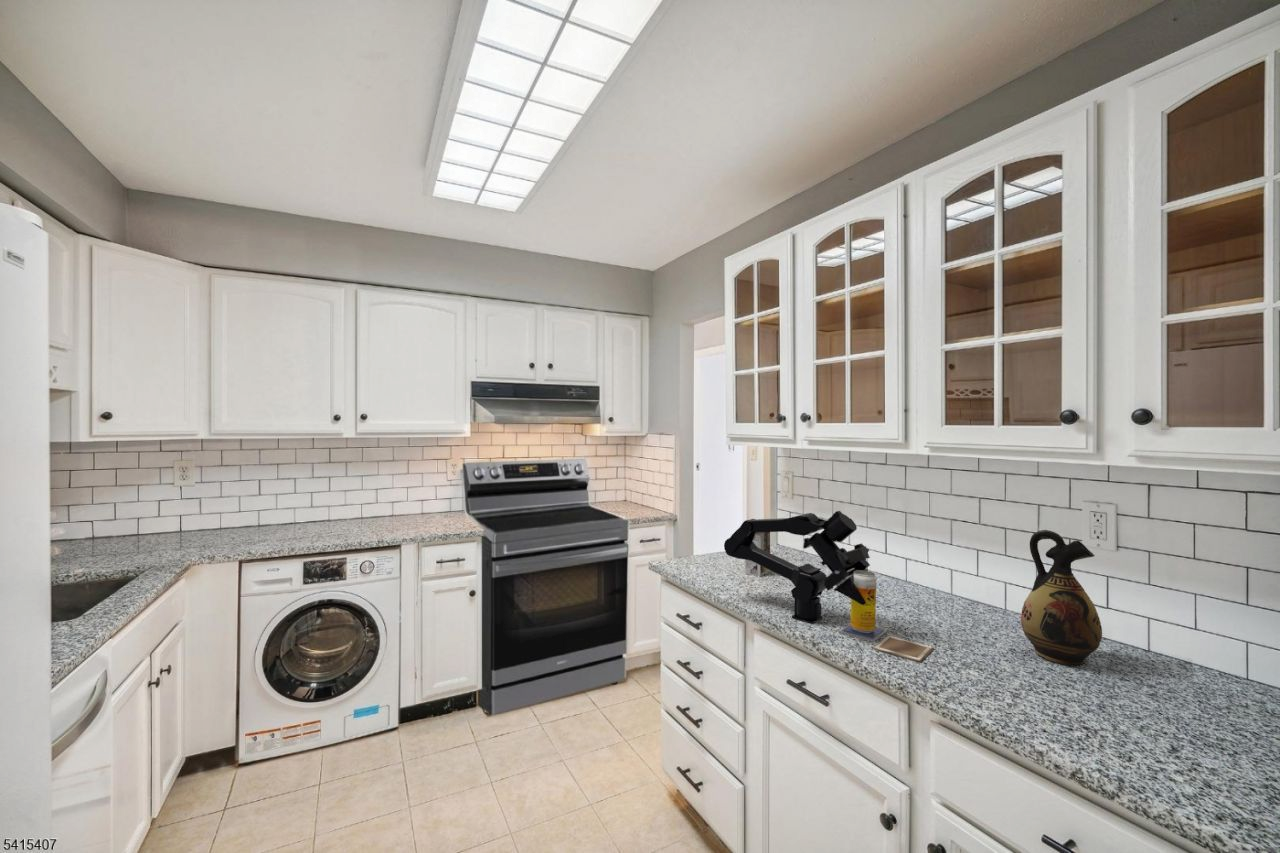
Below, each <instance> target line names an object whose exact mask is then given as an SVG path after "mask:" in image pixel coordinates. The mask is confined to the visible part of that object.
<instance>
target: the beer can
mask: <svg viewBox="0 0 1280 853" xmlns="http://www.w3.org/2000/svg"><path fill="white" fill-rule="evenodd" d="M853 575H854V584H855V586H856V588H857V589H858V591H859V592H860V594H861V595H862V597H863V598H864V600H865V602H866V603H865V604H864V605H862V604H860V603H858V602H856V601H855V600H853V599H851V598H850V625H851V626H852V628H853V629H854V630H856V631H858V632H863V633H870V632H873V630H874V629H875V627H876V610H877V609H876V606H877V577H876V574H875V572H872V571H869V570H868V571H863V570H856V571H854V572H853V574H852V576H853Z"/></svg>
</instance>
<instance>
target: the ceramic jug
mask: <svg viewBox="0 0 1280 853" xmlns="http://www.w3.org/2000/svg"><path fill="white" fill-rule="evenodd" d="M1042 540H1051V541H1053V542H1054V543H1055V544H1056V545H1054V546H1052V547H1050V548H1049V549H1048V550H1047V551H1046V552H1045V556H1046V558H1048V559H1052V560H1053V562H1052V563H1053V564H1052V566H1051V567H1050V569H1049V570H1048V572H1047V571H1046V569H1045V565H1044V563H1043V561H1042V558H1041V554H1040V551H1039V546H1038V544H1039V541H1042ZM1029 550H1030V555H1031V557H1032V560H1033V562H1034V565H1035V568H1036V572H1037V575H1036V577H1035V580H1034V582H1033V586H1032V589H1031V590H1030V592H1029V594H1028V596H1026V598H1025V600H1024V602H1023V606H1022V608H1021V614H1020V626H1021V629H1022V631H1023V633H1024V635H1025V637H1026V638H1027V640H1028V641H1029V642H1030V643H1031V644H1032V645H1033V647H1034V649H1033V652H1034V653H1035V654H1037V655H1038V656H1040V657H1042V658H1043V659H1045V660H1047V661H1050V662H1053V663H1057V664H1061V665H1064V666H1068V667H1077V666H1079V667H1081V666H1080V665H1082V666H1084V665H1083V664H1085V665H1086V662H1085V661H1086V659H1087V658H1088V657H1089V656H1090V655H1091V654H1093V653H1094V652H1095V651H1096V650H1097V649H1098V648H1099V646H1100V644H1101V641H1102V638H1103V628H1102V625H1101V624H1102V622H1101V620H1100V617H1099V614H1098V612H1097V609H1096V607H1095V604H1094V602H1093V601H1092V599H1091V598H1090V596H1089V595H1088V593H1087V592H1086V590H1085V588H1084V587H1083V586H1082V585H1081V583H1080V582H1079V581H1078V580H1077V578H1076V576H1075V575H1074V573H1073V571H1072V568H1071V566H1072V563H1073V562H1076V561H1078V560H1083V559H1088V558H1094V557H1095V556H1096V555H1095V554H1094V553H1093V552H1092V551H1091V550H1090V549H1089V548H1087V546H1086V545H1084V544H1083V542H1082V541H1080V540H1073V541H1072V542H1070V543H1068V544H1066V542H1065V540H1064V538H1063V537H1062V536H1061V535H1060V534H1059V533H1057V532H1055V531H1052V530H1048V529H1040V530H1038V531H1036V532H1034V533H1033V534H1032V535H1031V537H1030V540H1029ZM1012 648H1013V646H1012Z"/></svg>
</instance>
